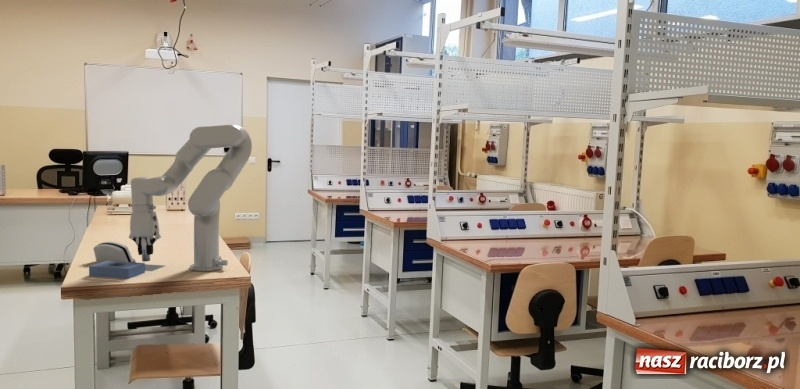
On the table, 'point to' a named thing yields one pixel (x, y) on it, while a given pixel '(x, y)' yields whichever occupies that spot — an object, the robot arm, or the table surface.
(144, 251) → the peg
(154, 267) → the mat
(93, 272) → the hole block
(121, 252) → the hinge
